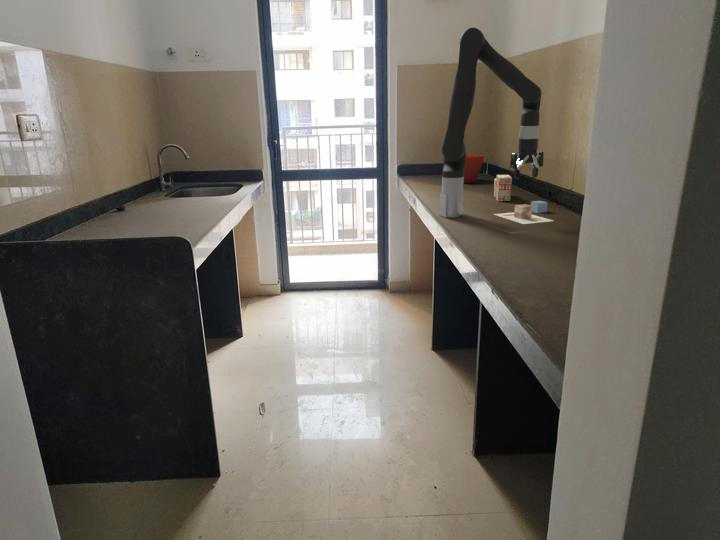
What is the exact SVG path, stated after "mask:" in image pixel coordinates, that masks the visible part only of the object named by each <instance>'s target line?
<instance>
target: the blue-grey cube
mask: <svg viewBox="0 0 720 540" xmlns="http://www.w3.org/2000/svg"><path fill="white" fill-rule="evenodd" d="M530 206H532V213H536V214H538V213H539V214H540V213H542V214H543V213H547V212H548V202H547V201H543V200H533V201H530Z"/></svg>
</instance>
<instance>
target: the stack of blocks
mask: <svg viewBox="0 0 720 540" xmlns="http://www.w3.org/2000/svg"><path fill="white" fill-rule="evenodd" d="M512 182H513V177H512V176H511V175H509V174H496V177H495V178H494V180H493V197H494V198H495V197H496V198H495V199H496V201H497V202H498V201H510V202H511V192H512Z"/></svg>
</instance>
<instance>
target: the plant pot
mask: <svg viewBox="0 0 720 540" xmlns="http://www.w3.org/2000/svg"><path fill="white" fill-rule="evenodd" d="M484 158H485V155H478V154H467V153H466V155H465V170H464V183H463V184H467V183H476V182H477V181H478V178H479V176H480V173H481V172H480V171H481V169H482V167H483V166H482V165H483V162H484Z"/></svg>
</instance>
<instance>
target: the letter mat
mask: <svg viewBox="0 0 720 540" xmlns="http://www.w3.org/2000/svg"><path fill="white" fill-rule="evenodd" d="M492 215H494V216H497V217H500V218H503V219H506V220H509V221H512V222H516V223H519V224H522V225H528V224H537V223H549V222H554V220H553V219H550V218H546V217H542V216H538V215H535V214H532V215H531V218H526V219H520V218H516V217H514V212H505V213H504V212H502V213H493V214H492Z"/></svg>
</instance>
